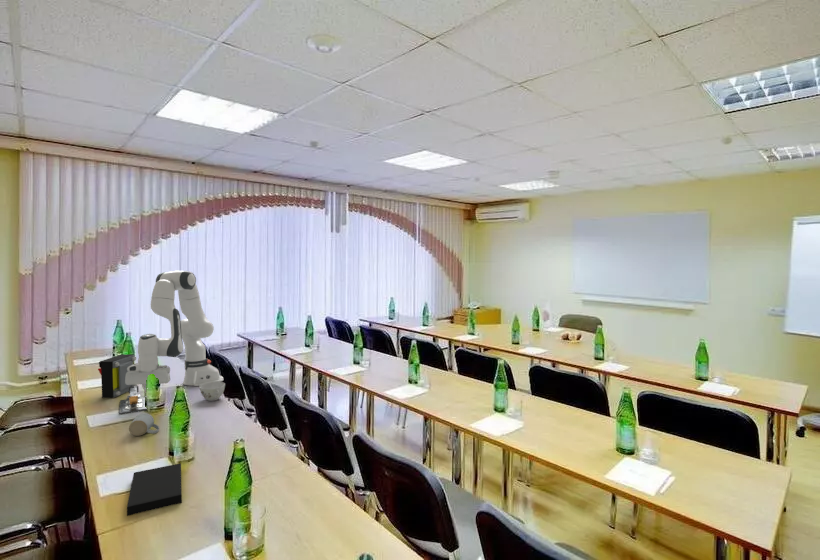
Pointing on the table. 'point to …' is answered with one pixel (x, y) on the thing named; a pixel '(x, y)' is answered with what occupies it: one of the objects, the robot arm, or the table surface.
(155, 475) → the external hard drive
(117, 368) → the electrical component
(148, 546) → the table surface
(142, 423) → the ceramic mug
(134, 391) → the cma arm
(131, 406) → the plate
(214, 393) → the teacup
